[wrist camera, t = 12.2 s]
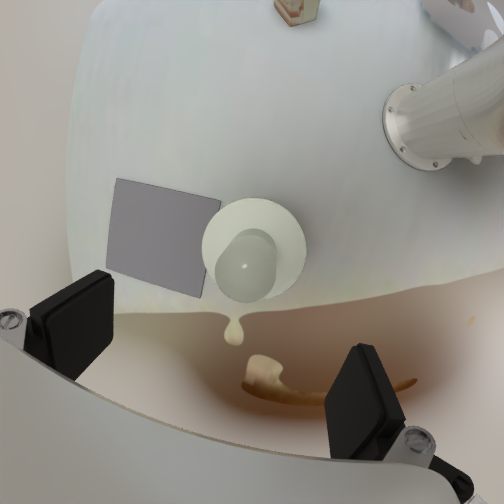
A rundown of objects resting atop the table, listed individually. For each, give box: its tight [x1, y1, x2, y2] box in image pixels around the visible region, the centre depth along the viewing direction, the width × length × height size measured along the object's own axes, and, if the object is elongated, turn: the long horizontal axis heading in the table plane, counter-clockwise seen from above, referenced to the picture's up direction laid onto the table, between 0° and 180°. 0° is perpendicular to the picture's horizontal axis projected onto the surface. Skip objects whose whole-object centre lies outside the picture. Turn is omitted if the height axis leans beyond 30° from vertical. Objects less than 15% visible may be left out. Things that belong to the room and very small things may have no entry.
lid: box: [202, 198, 306, 303], centre depth 22 cm, size 9×9×7 cm
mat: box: [106, 178, 221, 298], centre depth 38 cm, size 16×14×1 cm
